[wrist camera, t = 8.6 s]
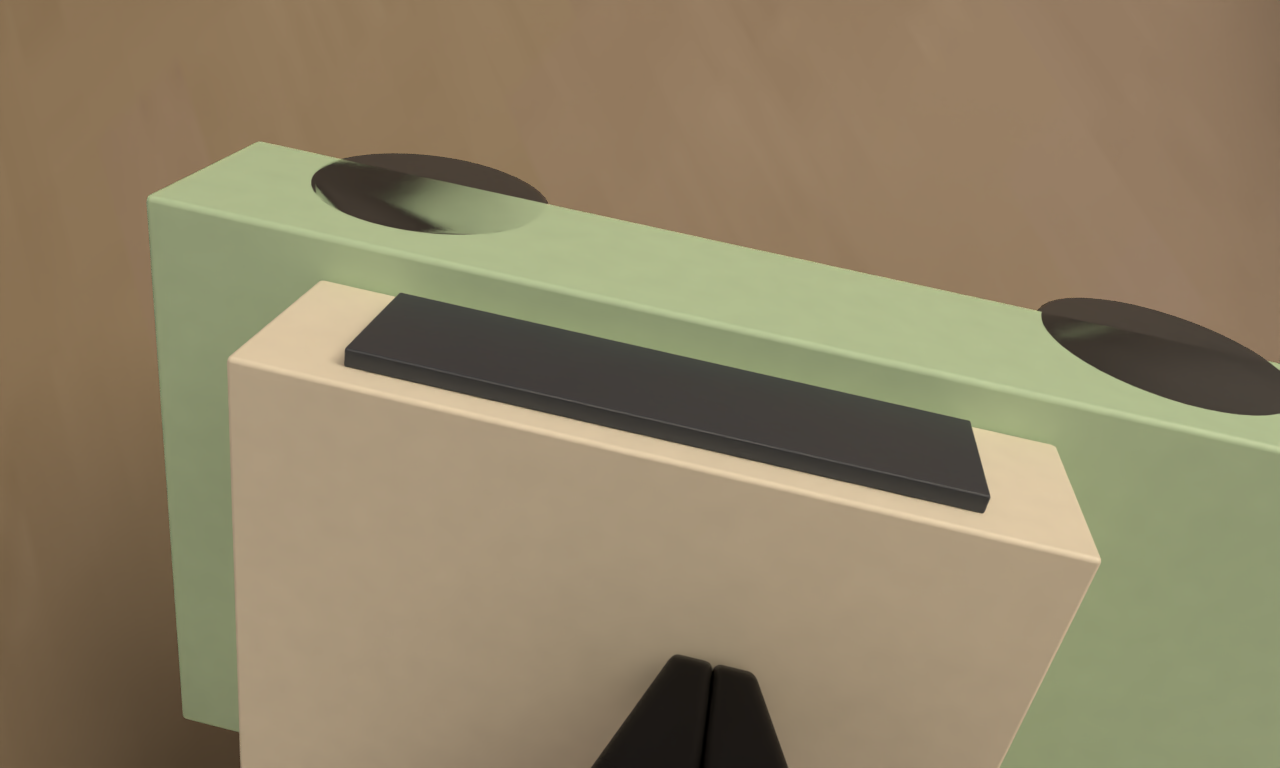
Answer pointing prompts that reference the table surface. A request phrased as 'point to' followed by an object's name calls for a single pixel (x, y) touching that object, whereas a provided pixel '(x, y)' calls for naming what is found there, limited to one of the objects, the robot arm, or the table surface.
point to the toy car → (686, 490)
